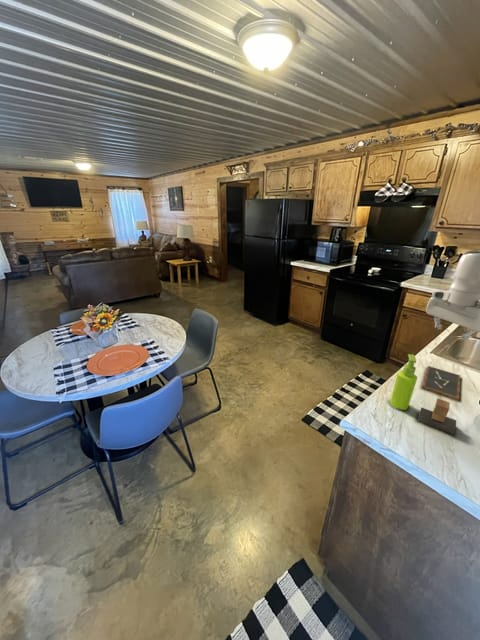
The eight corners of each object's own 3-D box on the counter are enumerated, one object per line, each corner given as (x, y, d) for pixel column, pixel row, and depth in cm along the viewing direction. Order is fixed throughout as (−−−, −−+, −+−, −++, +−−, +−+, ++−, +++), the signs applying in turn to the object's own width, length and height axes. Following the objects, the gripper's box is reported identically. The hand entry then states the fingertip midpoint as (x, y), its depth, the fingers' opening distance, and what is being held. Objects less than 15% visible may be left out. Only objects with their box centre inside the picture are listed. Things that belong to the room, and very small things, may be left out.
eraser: (454, 426, 89) (462, 406, 85) (453, 435, 85) (462, 414, 82) (419, 412, 94) (426, 393, 91) (417, 420, 91) (424, 400, 88)
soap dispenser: (406, 400, 101) (420, 355, 93) (408, 411, 95) (424, 364, 87) (389, 395, 103) (401, 351, 95) (390, 406, 97) (403, 360, 89)
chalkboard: (427, 367, 122) (427, 365, 122) (459, 377, 115) (460, 375, 115) (421, 388, 108) (422, 386, 107) (458, 400, 101) (459, 398, 100)
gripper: (505, 306, 82) (489, 344, 88) (440, 289, 100) (429, 322, 106) (492, 308, 80) (476, 347, 86) (428, 290, 98) (418, 324, 104)
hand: (450, 333), depth 96 cm, fingers open, 8 cm apart
